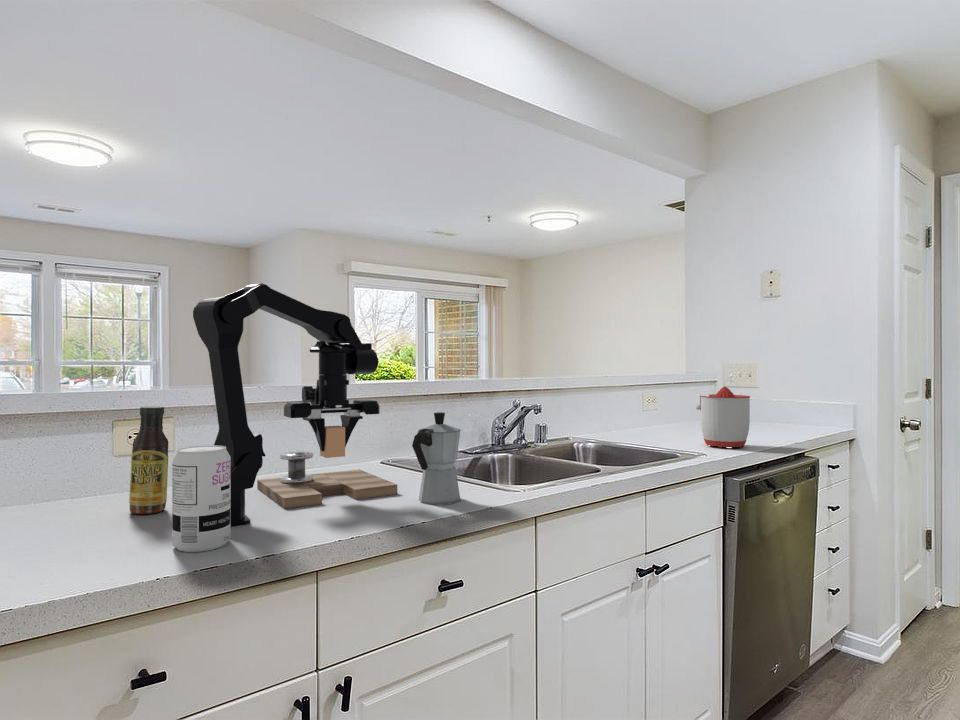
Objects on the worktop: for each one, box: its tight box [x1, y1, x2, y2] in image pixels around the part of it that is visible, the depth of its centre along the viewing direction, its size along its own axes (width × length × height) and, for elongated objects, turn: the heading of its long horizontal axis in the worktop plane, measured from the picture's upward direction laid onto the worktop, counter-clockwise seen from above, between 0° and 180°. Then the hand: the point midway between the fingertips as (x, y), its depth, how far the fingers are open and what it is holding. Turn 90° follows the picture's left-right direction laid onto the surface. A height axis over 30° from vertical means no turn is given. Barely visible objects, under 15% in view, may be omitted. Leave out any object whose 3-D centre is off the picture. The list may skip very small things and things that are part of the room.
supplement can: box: [171, 444, 232, 553], centre depth 95 cm, size 8×8×15 cm
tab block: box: [319, 425, 346, 459], centre depth 127 cm, size 4×4×6 cm
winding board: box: [256, 469, 398, 509], centre depth 133 cm, size 22×24×2 cm
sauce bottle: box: [128, 405, 169, 515], centre depth 116 cm, size 6×6×20 cm
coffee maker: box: [411, 411, 461, 506], centre depth 125 cm, size 15×9×18 cm, turn 149°
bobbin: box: [279, 450, 314, 484], centre depth 135 cm, size 7×7×6 cm
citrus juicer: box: [696, 386, 751, 448], centre depth 204 cm, size 16×17×20 cm
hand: (332, 450), depth 127 cm, fingers closed on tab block, 4 cm apart
